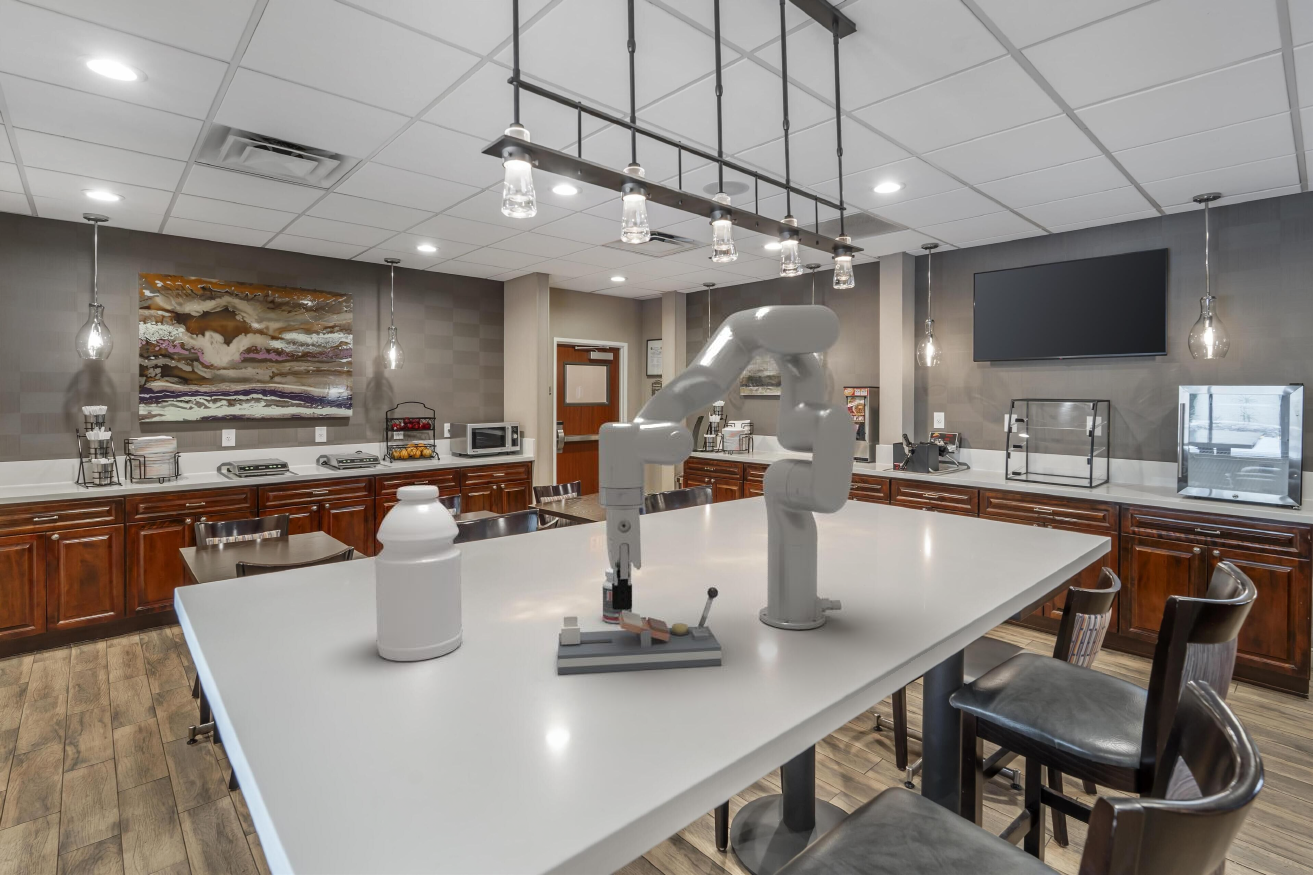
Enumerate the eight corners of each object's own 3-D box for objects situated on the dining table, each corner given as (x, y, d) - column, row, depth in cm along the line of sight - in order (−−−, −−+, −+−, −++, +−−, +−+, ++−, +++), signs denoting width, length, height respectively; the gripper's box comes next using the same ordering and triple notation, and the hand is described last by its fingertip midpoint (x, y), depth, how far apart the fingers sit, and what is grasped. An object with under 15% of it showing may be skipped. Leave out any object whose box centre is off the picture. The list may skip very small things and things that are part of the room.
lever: (703, 628, 107) (718, 587, 107) (705, 632, 105) (720, 590, 105) (693, 625, 106) (708, 584, 106) (695, 629, 105) (710, 587, 105)
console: (707, 642, 111) (707, 611, 111) (721, 665, 101) (721, 631, 101) (559, 650, 108) (559, 618, 107) (557, 675, 98) (557, 639, 97)
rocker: (663, 630, 107) (665, 621, 107) (667, 641, 102) (670, 631, 102) (618, 618, 106) (621, 609, 106) (620, 628, 101) (623, 619, 101)
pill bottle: (627, 625, 121) (627, 574, 120) (599, 623, 122) (598, 572, 121) (634, 615, 126) (634, 566, 126) (607, 614, 127) (607, 565, 127)
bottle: (478, 638, 114) (476, 484, 113) (427, 667, 101) (424, 493, 99) (414, 629, 118) (412, 481, 117) (357, 656, 105) (354, 490, 104)
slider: (579, 638, 104) (579, 613, 104) (580, 643, 102) (579, 618, 102) (561, 639, 104) (561, 614, 104) (561, 644, 101) (561, 618, 101)
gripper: (650, 503, 96) (650, 621, 97) (639, 491, 111) (639, 594, 112) (600, 504, 95) (601, 624, 96) (597, 492, 110) (597, 596, 111)
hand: (622, 607), depth 104 cm, fingers closed
